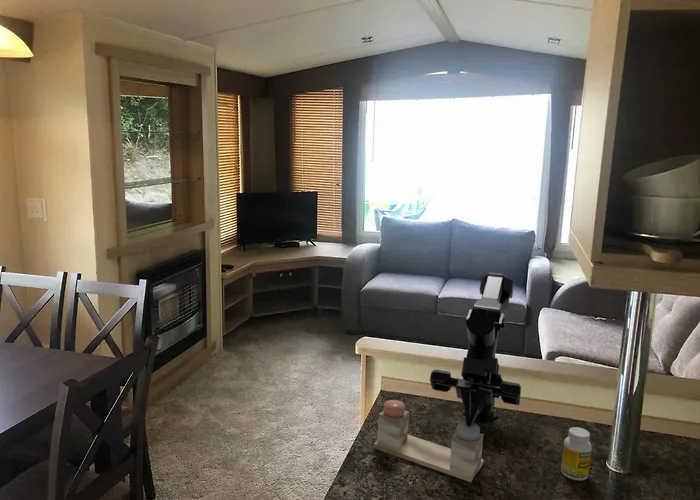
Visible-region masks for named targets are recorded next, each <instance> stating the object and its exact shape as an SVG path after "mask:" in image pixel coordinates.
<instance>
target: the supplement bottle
mask: <svg viewBox="0 0 700 500" xmlns="http://www.w3.org/2000/svg"><path fill="white" fill-rule="evenodd" d="M590 437H591V434H590V432H589V431H588V430H586V429H585V428H582V427H578V426H576V427H574V426H573V427H570V428H569V430H568V436H567V437H565V439H564V440H563V441H564V442H563V449H562V450H563V451H562V458H561V465H560V467H561V473H562V474H563V475H564V476H565V477H566V478H568V479H570V480H573V481H577V480H578V482H579V481H580V482H581V481H585V480H587V479H588V478H589V474H590V473H589V471H590V467H591V465H590V464H591V458H592V449H593V446H592V443H591V442H590Z"/></svg>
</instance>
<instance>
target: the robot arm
mask: <svg viewBox="0 0 700 500" xmlns="http://www.w3.org/2000/svg"><path fill="white" fill-rule="evenodd" d="M513 294H514V281H513V280H512V279H510V278H508V277H507V274H504V273H501V272H499V273H498V272H491V271H489V272H486V273H485V276H482V277H481V278H480V286H479V295H481V298H480V299H478V300H475V301H474V304H473V306H472V308H469V310H468V314H467V316H466V319H465V324H466V331H467V339H468V346H467V347H468V348H467V352H466V357H465V356H464V357H463V361H462V362H463V363H462V369H461V374H460V375H461V377H462V378H458V377H457V378H456V377H452V374H451V371H447V370H442V369H436V368H435V369H433V370H432V371H431V372H430V376H429V382H430V385H431V389H432V390H434V391H438V392H442V393H443V392H444V393H448V392H449V391H450V390H452V388H455V391H456V398H458V399H461V400H462V404H463V408H464V410H463V411H462V414H464V415H465V420H466V423H467V426H469V427H471V425H472V424H473V423H475V421H477V422H479V423H482V424H483V423H487V422H488V421H491V420H493V419H495V418H497V417H499V413H497V412H495V401H496V399H500V400H501V401H502V403H504V404H509V405H514V406H520V402H521V394H522V387H521V385H520V383H518V382H512V381H507V380H504V379H503V377H502V373H501V374H500V364H499V360H498V358H497V357H496V352H497V345H498V339H499V332H500V331H502V329H505V327H506V324H507V318H506V315H505V312H504V311H505V310H506V309H507V308H508V307H509V305H510V299H512V298H513V296H514V295H513Z"/></svg>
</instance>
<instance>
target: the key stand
mask: <svg viewBox="0 0 700 500" xmlns="http://www.w3.org/2000/svg"><path fill="white" fill-rule="evenodd" d="M409 421H410V411H408V410H405V413H404V415H403V416H401V417H390V416H387V415H386V414H385V413H384V409H383V410H382V411H381V412H379V413H378V421H377V424H378V426H377V440H376V441H375V442H374V443H373V445H372V446H373V449H375V450H378V451H381V452H384V453H387V454H389V455H393V456H395V457H398V458H401V459H404V460H407V461H409V462H412V463H415V464H418V465H421V466H423V467H426V468H429V469H432V470H435V471H438V472H441V473H442V474H443V473H444V474H447V475H449V476H452V477H455V478H458V479H460V480H464V481H466V482H469V483H472V481H473V479H474V478H475V477H476V475H477V474H478V473H479V471H480V469H481V468H482V467H483V466H484V463H485V459H484V458H482V453H483V443H484V433H479V438H478V439H477V440H474V441H467V440H463V439H461V438H459V437H458V436H457V431H456V432H455V433H454V434H453V435H452V436H451V444H450V445H451V446H450V447H451V448H450V447H447V446H444V445H441V444H439V443H438V444H437V443H435V442H432V441H428V440H425V439H422V438H420V437H418V436H417V437H416V436H413V435H410V434H409Z"/></svg>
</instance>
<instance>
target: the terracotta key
mask: <svg viewBox="0 0 700 500" xmlns="http://www.w3.org/2000/svg"><path fill="white" fill-rule="evenodd" d="M405 408H406V404H405V402H403V401H401V400H399V399H398V400H397V399H389V400H386V401H384V403H383V410H384V413H385V414H386V415H387V416H390V417H401V416H403V415H404V413H405V411H406V410H405Z"/></svg>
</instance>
